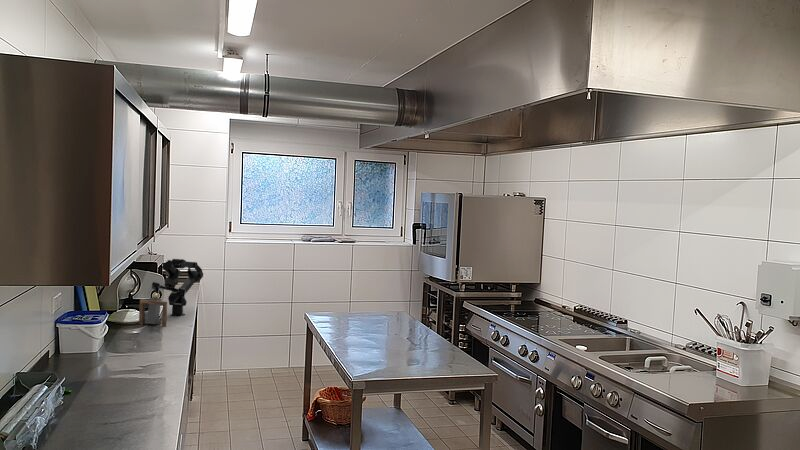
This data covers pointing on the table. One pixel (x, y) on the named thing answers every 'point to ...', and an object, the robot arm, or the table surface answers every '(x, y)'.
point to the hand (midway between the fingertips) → (164, 302)
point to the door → (146, 315)
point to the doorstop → (154, 311)
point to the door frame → (142, 303)
